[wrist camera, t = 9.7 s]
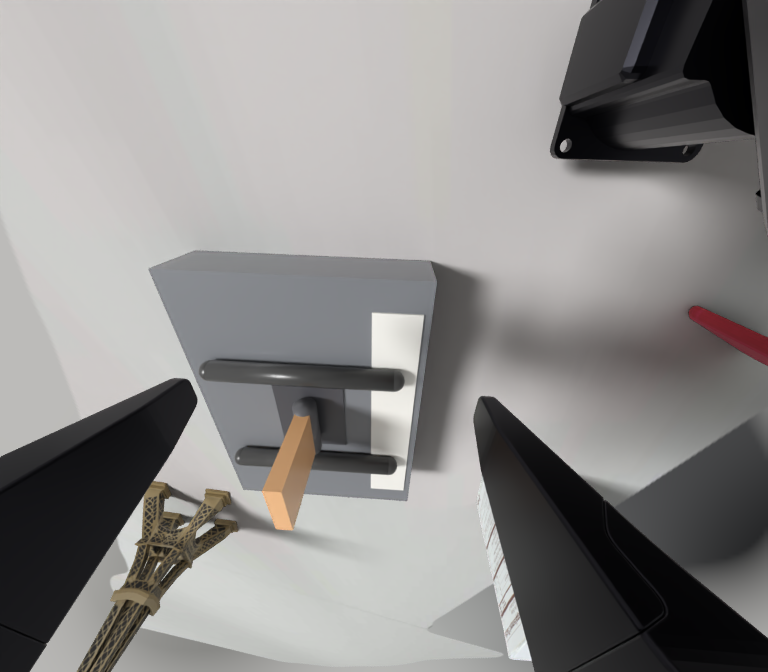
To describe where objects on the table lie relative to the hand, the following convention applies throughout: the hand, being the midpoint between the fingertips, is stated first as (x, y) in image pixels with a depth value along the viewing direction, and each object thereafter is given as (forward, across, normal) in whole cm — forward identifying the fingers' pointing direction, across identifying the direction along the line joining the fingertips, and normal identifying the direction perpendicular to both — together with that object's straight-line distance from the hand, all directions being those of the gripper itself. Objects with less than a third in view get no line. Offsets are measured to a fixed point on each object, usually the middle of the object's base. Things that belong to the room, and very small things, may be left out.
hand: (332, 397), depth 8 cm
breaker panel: (+12, +4, +10) cm, 16 cm away
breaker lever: (+8, +4, +10) cm, 13 cm away
